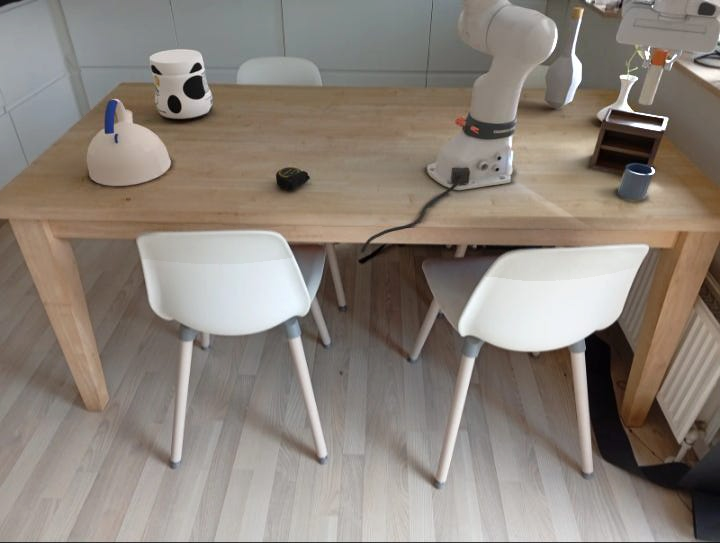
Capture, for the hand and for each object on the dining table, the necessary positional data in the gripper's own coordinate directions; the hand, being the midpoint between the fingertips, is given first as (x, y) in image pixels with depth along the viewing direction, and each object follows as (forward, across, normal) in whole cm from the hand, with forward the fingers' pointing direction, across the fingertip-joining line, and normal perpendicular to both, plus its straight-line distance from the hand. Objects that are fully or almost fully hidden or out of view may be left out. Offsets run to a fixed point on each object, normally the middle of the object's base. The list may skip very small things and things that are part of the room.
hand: (656, 68), depth 123 cm
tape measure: (+26, -69, -49) cm, 89 cm away
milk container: (+26, -127, -26) cm, 132 cm away
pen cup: (+26, +4, -12) cm, 29 cm away
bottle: (+27, -26, +38) cm, 53 cm away
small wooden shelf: (+26, -1, +3) cm, 26 cm away
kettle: (+26, -112, -62) cm, 130 cm away
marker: (+8, 0, 0) cm, 8 cm away
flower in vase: (+27, -8, +36) cm, 45 cm away
